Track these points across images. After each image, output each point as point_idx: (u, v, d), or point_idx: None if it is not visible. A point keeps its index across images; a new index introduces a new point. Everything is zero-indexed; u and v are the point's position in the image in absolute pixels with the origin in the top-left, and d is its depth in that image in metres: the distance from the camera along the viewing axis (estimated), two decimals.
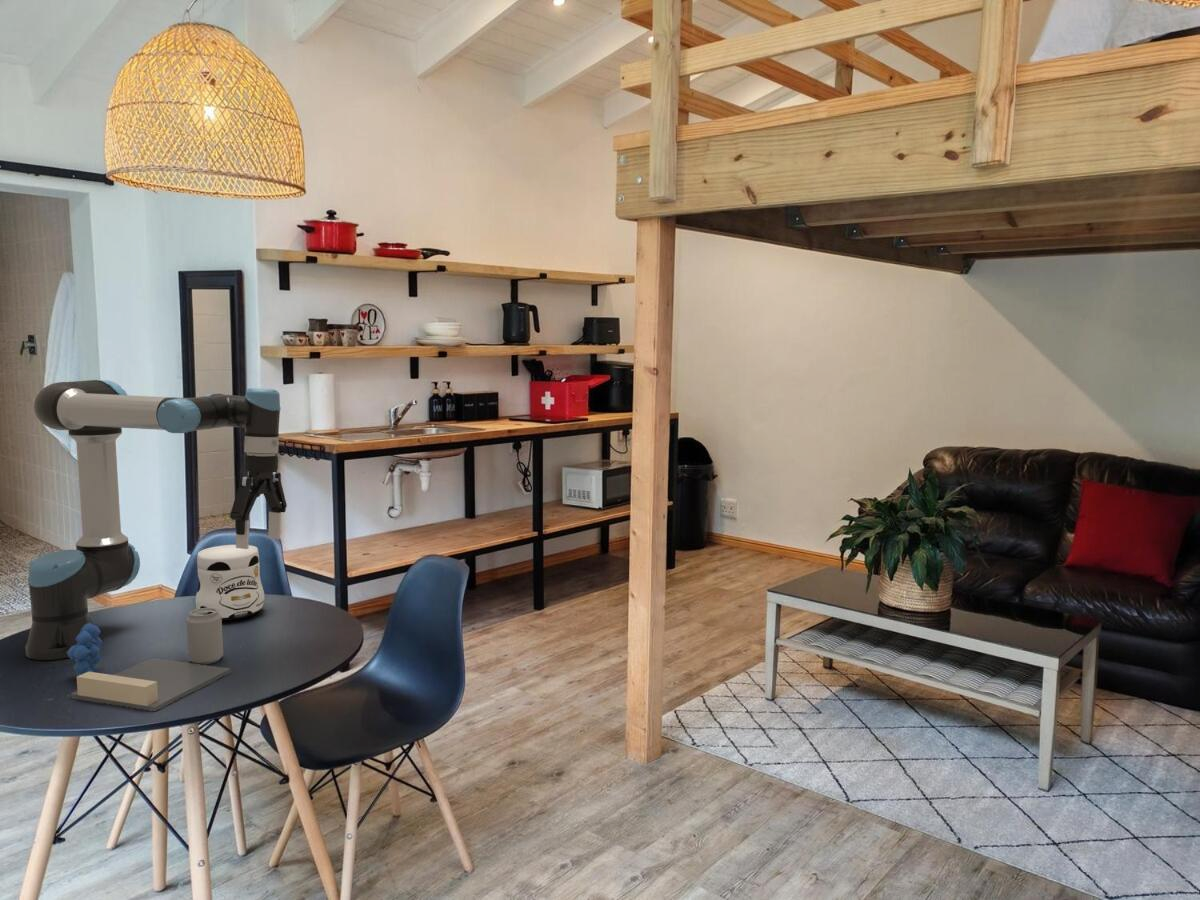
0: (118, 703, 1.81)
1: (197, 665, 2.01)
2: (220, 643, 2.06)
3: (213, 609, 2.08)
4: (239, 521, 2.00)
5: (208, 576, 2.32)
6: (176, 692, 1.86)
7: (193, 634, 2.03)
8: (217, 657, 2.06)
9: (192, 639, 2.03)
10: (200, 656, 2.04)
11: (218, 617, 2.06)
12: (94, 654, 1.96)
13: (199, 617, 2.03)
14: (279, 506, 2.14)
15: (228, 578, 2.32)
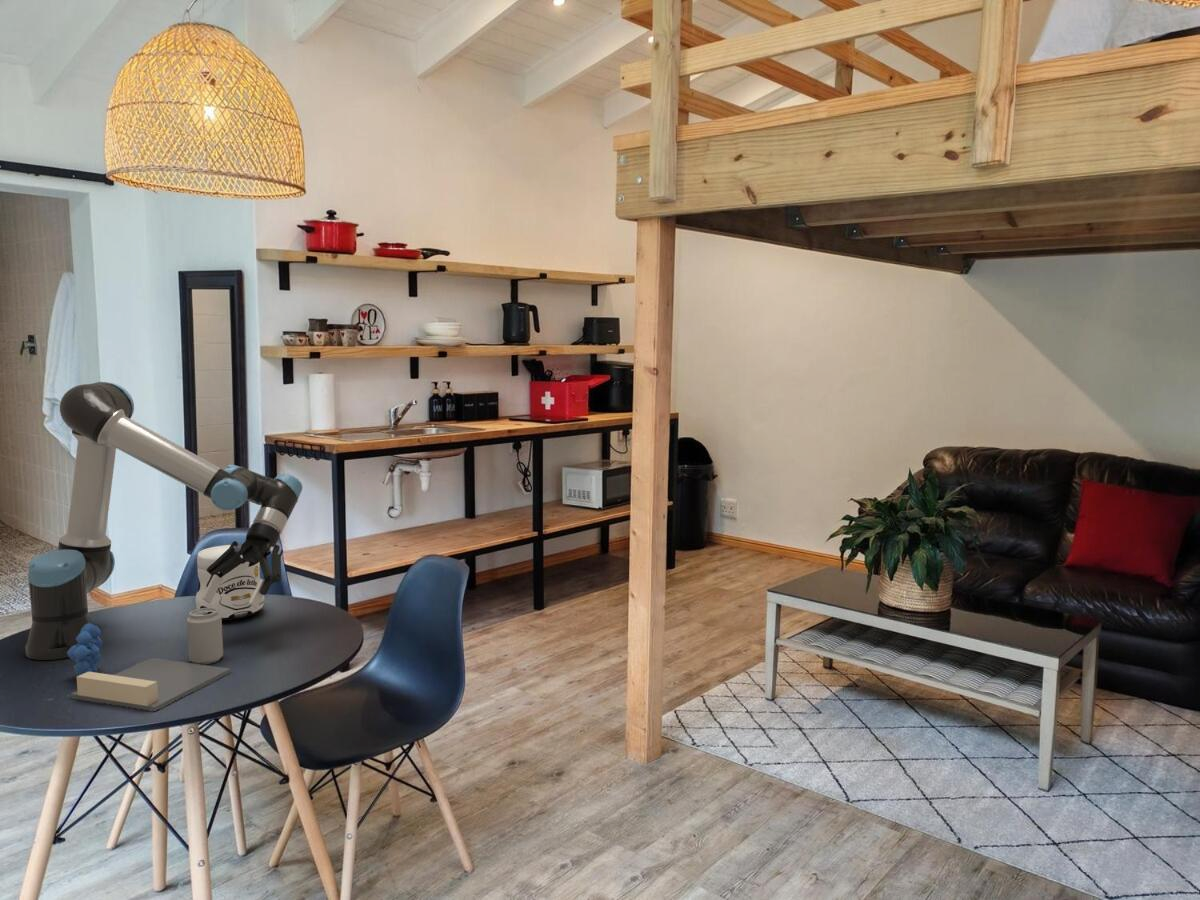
0: (118, 703, 1.81)
1: (197, 665, 2.01)
2: (220, 643, 2.06)
3: (213, 609, 2.08)
4: (270, 582, 2.14)
5: (208, 576, 2.32)
6: (176, 692, 1.86)
7: (193, 634, 2.03)
8: (217, 657, 2.06)
9: (192, 639, 2.03)
10: (200, 656, 2.04)
11: (218, 617, 2.06)
12: (94, 654, 1.96)
13: (199, 617, 2.03)
14: None
15: (228, 578, 2.32)
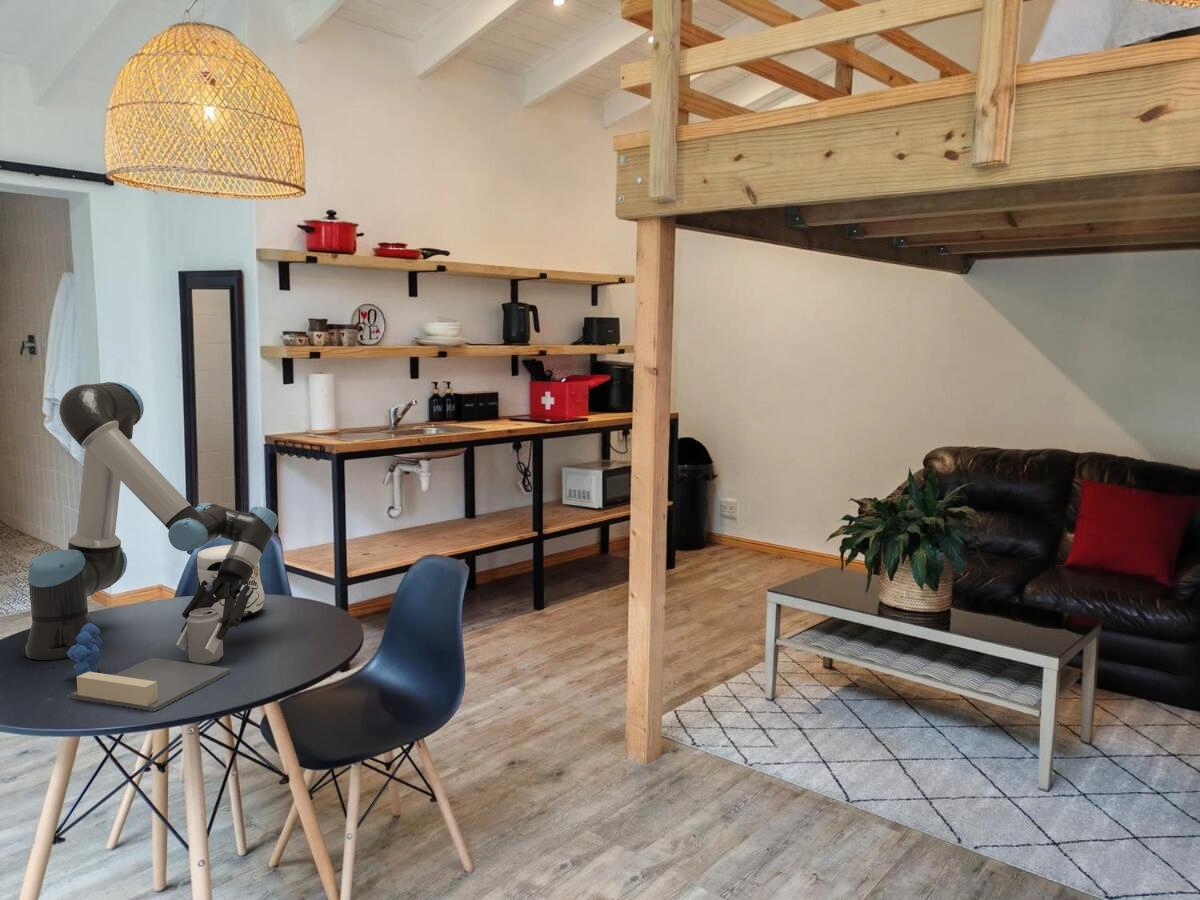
0: (118, 703, 1.81)
1: (197, 665, 2.01)
2: (220, 643, 2.06)
3: (213, 609, 2.08)
4: (228, 627, 2.06)
5: (208, 576, 2.32)
6: (176, 692, 1.86)
7: (193, 634, 2.03)
8: (217, 657, 2.06)
9: (192, 639, 2.03)
10: (200, 656, 2.04)
11: (218, 617, 2.06)
12: (94, 654, 1.96)
13: (199, 617, 2.03)
14: None
15: None
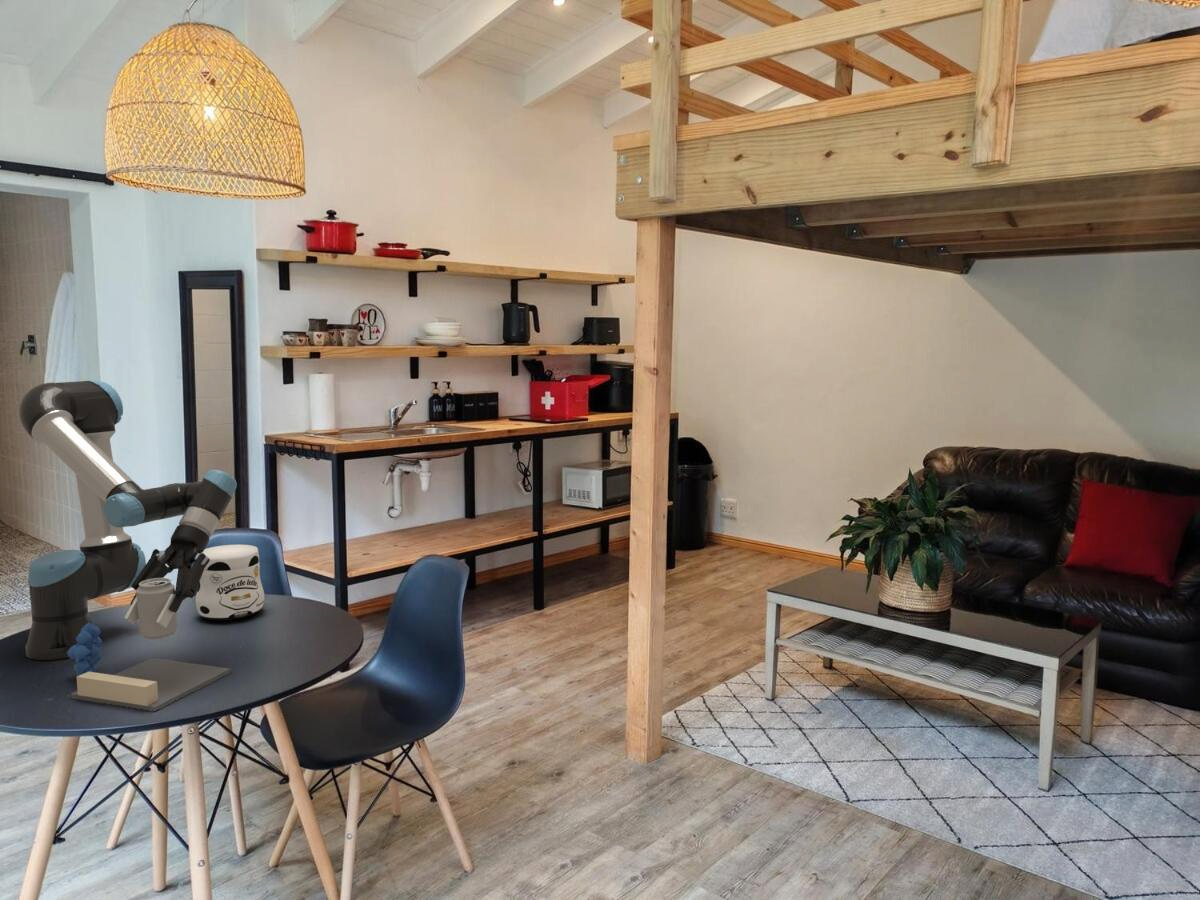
0: (118, 703, 1.81)
1: (197, 665, 2.01)
2: (173, 615, 1.90)
3: (165, 579, 1.92)
4: (181, 598, 1.90)
5: (208, 576, 2.32)
6: (176, 692, 1.86)
7: (143, 607, 1.87)
8: (170, 631, 1.90)
9: (142, 612, 1.87)
10: (151, 630, 1.87)
11: (171, 588, 1.90)
12: (94, 654, 1.96)
13: (150, 588, 1.87)
14: None
15: (228, 578, 2.32)
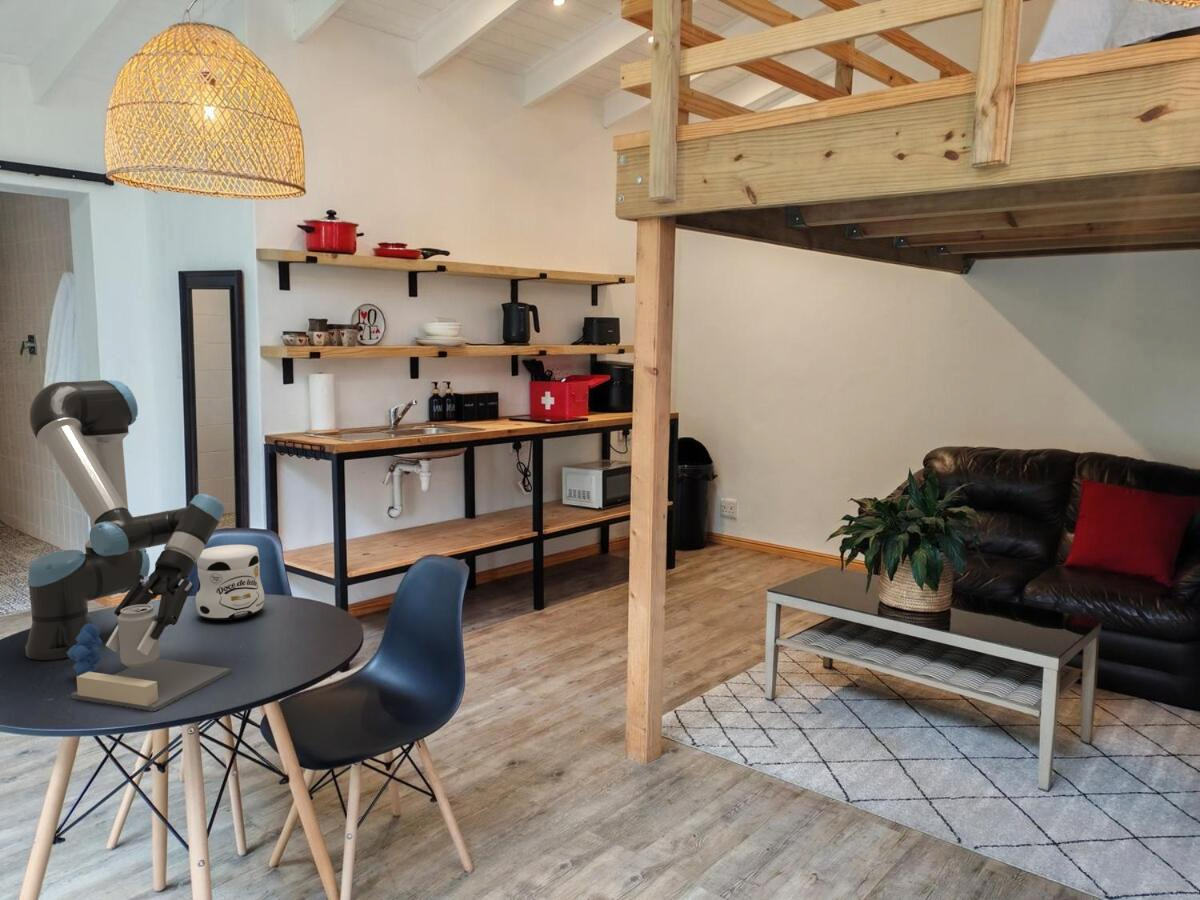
0: (118, 703, 1.81)
1: (197, 665, 2.01)
2: (155, 643, 1.87)
3: (148, 606, 1.89)
4: (163, 625, 1.86)
5: (208, 576, 2.32)
6: (176, 692, 1.86)
7: (124, 634, 1.83)
8: (152, 659, 1.86)
9: (123, 639, 1.84)
10: (132, 658, 1.84)
11: (152, 615, 1.86)
12: (94, 654, 1.96)
13: (131, 614, 1.84)
14: None
15: (228, 578, 2.32)
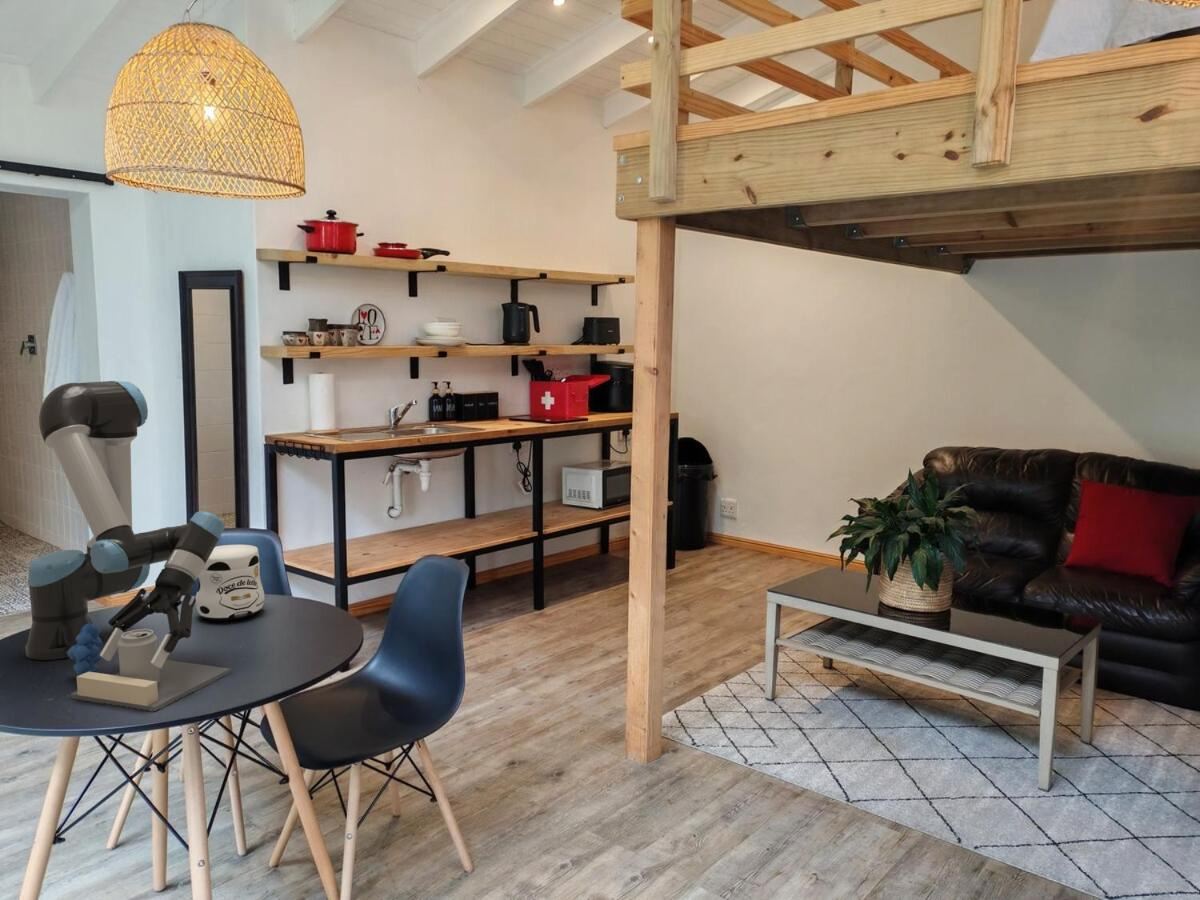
0: (118, 703, 1.81)
1: (197, 665, 2.01)
2: (155, 668, 1.88)
3: (148, 630, 1.90)
4: (177, 638, 1.87)
5: (208, 576, 2.32)
6: (176, 692, 1.86)
7: (125, 659, 1.84)
8: None
9: (123, 664, 1.85)
10: None
11: (153, 640, 1.87)
12: (94, 654, 1.96)
13: (131, 640, 1.85)
14: None
15: (228, 578, 2.32)
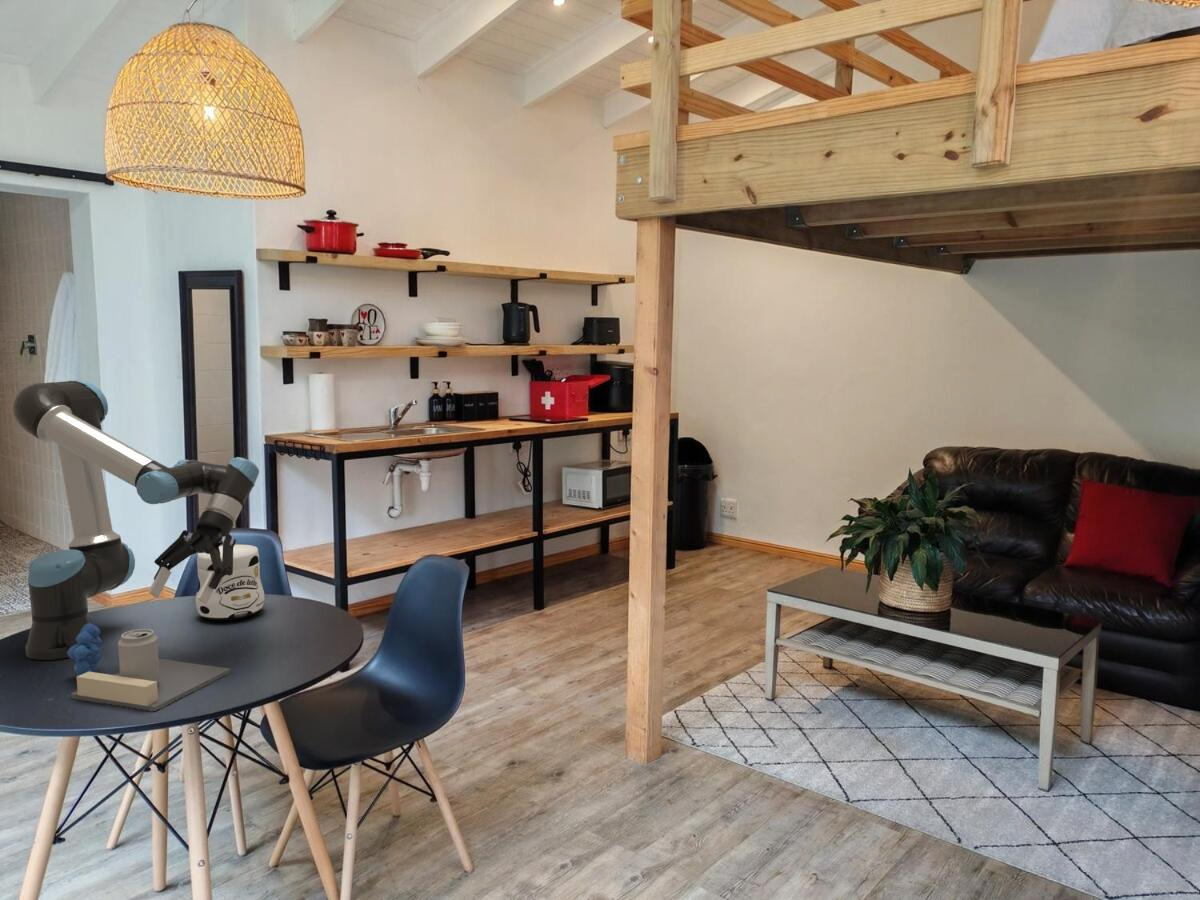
0: (118, 703, 1.81)
1: (197, 665, 2.01)
2: (155, 668, 1.88)
3: (148, 630, 1.90)
4: (220, 576, 1.99)
5: None
6: (176, 692, 1.86)
7: (125, 659, 1.84)
8: None
9: (123, 664, 1.85)
10: None
11: (153, 640, 1.87)
12: (94, 654, 1.96)
13: (131, 640, 1.85)
14: None
15: (228, 578, 2.32)
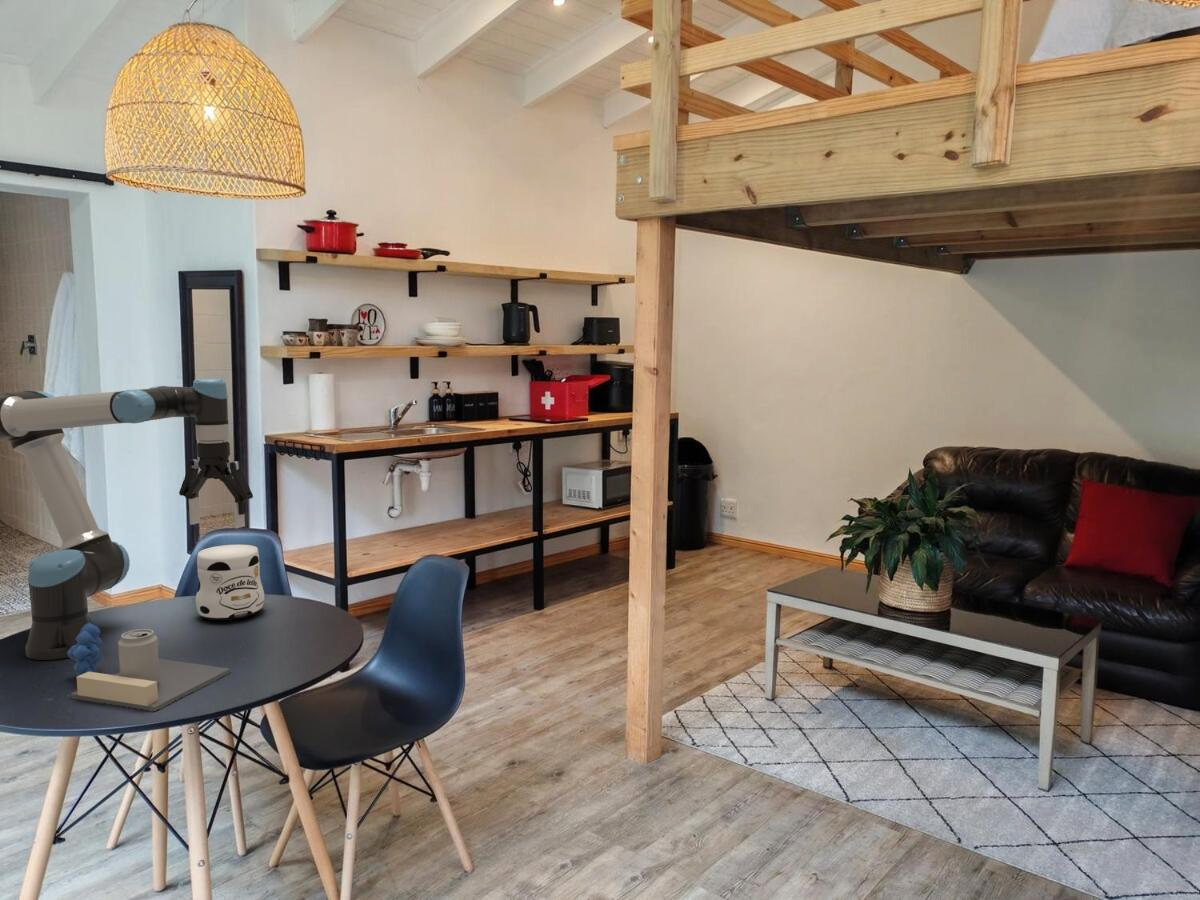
0: (118, 703, 1.81)
1: (197, 665, 2.01)
2: (155, 668, 1.88)
3: (148, 630, 1.90)
4: (244, 501, 2.17)
5: (208, 576, 2.32)
6: (176, 692, 1.86)
7: (125, 659, 1.84)
8: None
9: (123, 664, 1.85)
10: None
11: (153, 640, 1.87)
12: (94, 654, 1.96)
13: (131, 640, 1.85)
14: None
15: (228, 578, 2.32)
